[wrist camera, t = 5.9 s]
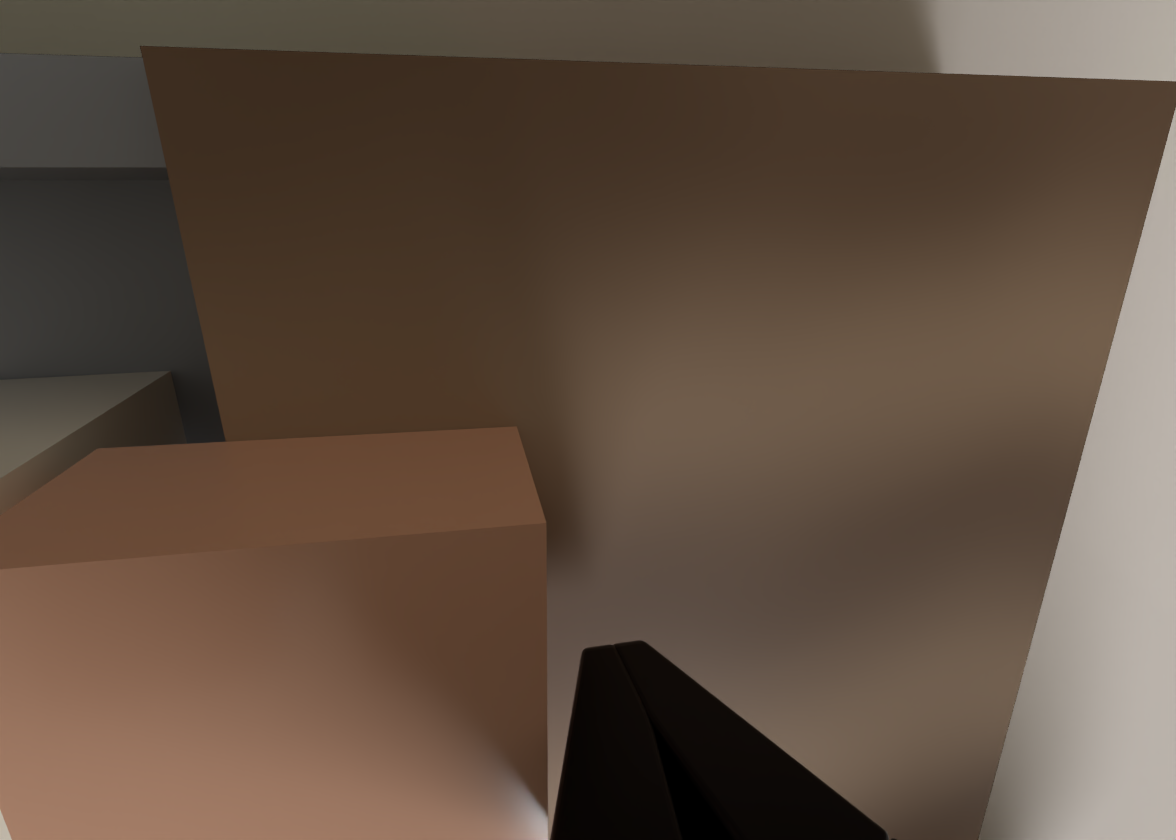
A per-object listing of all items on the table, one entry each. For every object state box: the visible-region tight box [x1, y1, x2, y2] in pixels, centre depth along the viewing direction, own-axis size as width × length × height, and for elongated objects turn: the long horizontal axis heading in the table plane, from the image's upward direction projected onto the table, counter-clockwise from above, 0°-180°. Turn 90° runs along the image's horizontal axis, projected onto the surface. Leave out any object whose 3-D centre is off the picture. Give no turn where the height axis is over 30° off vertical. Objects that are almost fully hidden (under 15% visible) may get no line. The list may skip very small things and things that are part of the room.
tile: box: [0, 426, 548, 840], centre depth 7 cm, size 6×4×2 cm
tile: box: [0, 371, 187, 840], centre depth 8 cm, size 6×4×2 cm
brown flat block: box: [140, 46, 1176, 840], centre depth 11 cm, size 14×12×4 cm
